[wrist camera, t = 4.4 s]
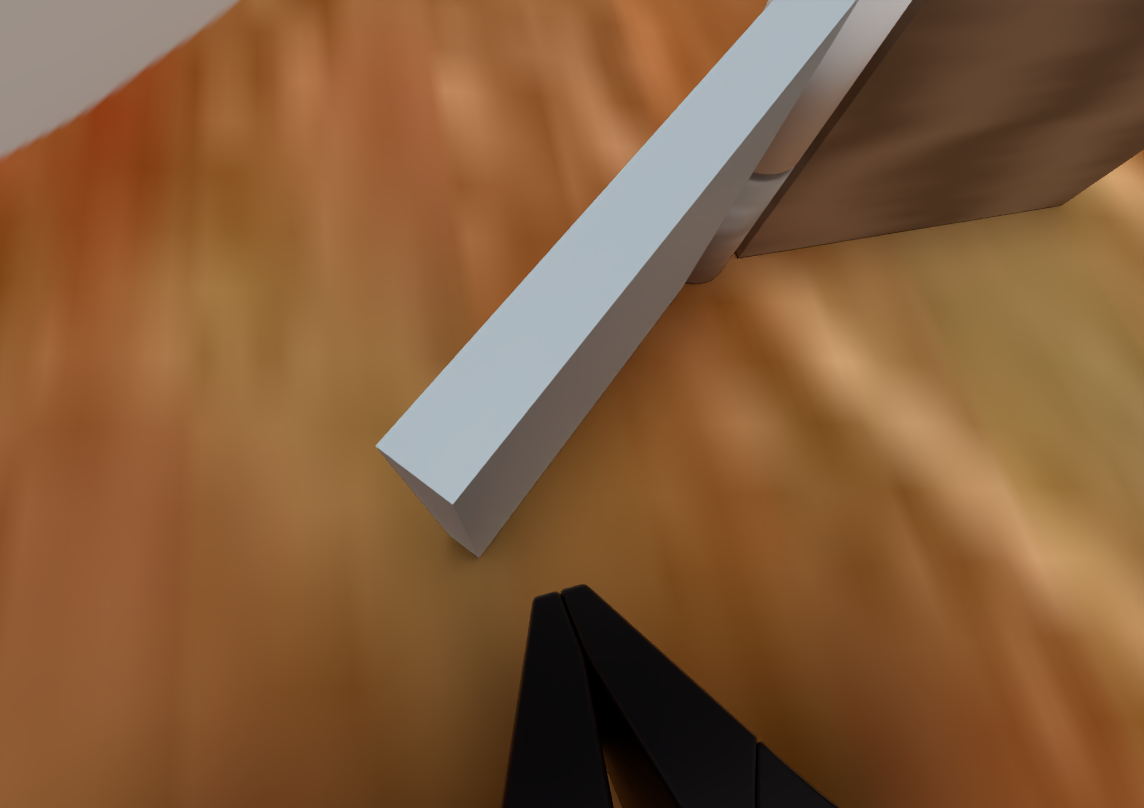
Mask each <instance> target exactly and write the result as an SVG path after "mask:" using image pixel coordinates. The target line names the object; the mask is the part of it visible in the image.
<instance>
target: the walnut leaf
mask: <svg viewBox="0 0 1144 808" xmlns="http://www.w3.org/2000/svg"><path fill="white" fill-rule="evenodd" d="M1142 150H1144V0H912V1H911V3H910V4H909V5H908V7H907V8H906V10H905V11H904V12H903V14H902V15H901V17H900V18H899V20H898V21H897V22H896V24H895V25H894V27H893V28H892V30H891V31H890V32H889V34H888V35H887V37H886V38H885V39H884V41H883V42H882V44H881V45H880V47H879V48H878V49H877V51H876V52H875V54H874V55H873V56H872V58H871V59H870V61H869V62H868V64H867V65H866V66H865V68H864V69H863V71H862V72H861V73H860V75H859V76H858V78H857V79H856V81H855V82H854V83H853V85H852V86H851V88H850V89H849V91H848V92H847V93H846V95H845V96H844V98H843V99H842V100H841V102H840V103H839V105H838V106H837V108H836V109H835V110H834V112H833V113H832V115H831V116H830V117H829V119H828V120H827V122H826V123H825V125H824V126H823V127H822V129H821V130H820V132H819V133H818V135H817V136H816V137H815V139H814V140H813V142H812V143H811V144H810V146H809V147H808V149H807V150H806V152H805V153H804V154H803V156H802V157H801V159H800V160H799V161H798V163H797V164H796V165H795V166H794V167H792V168H791V169H789V170H787V171H785V172H782V173H778V174H758V173H754V172H753V173H752V175H751V176H750V178H749V180H748V181H747V183H746V185H745V186H744V188H743V189H742V191H741V193H740V194H739V196H738V198H737V199H736V201H735V202H734V204H733V206H732V207H731V209H730V211H729V212H728V214H727V215H726V217H725V219H724V220H723V222H722V224H721V225H720V227H719V228H718V230H717V232H716V233H715V235H714V237H713V238H712V240H711V242H710V243H709V245H708V246H707V248H706V250H705V251H704V253H703V255H702V256H701V258H700V259H699V261H698V263H697V264H696V266H695V268H694V269H693V271H692V272H691V274H690V276H689V277H688V279H687V281H686V282H687V283H693V284H699V283H705V282H708V281H710V280H712V279H714V278H715V277H716V276H718V274H719V273H720V272H721V271H722V269H723V268H724V266H725V265H726V264H727V262H728V261H729V259H730V258H731V256H732V255H733V254H734V252H735V251H736V253H737V256H738V258H742V257H748V256H754V255H760V254H766V253H772V252H778V251H785V250H791V249H797V248H803V247H809V246H815V245H821V244H827V243H833V242H840V241H846V240H852V239H858V238H864V237H870V236H876V235H882V234H889V233H895V232H901V231H907V230H913V229H919V228H925V227H931V226H937V225H944V224H950V223H956V222H962V221H968V220H974V219H980V218H986V217H993V216H999V215H1005V214H1011V213H1017V212H1023V211H1029V210H1035V209H1041V208H1048V207H1054V206H1060V205H1063V204H1064V203H1066V202H1067V201H1069V200H1070V199H1072V198H1073V197H1075V196H1076V195H1078V194H1079V193H1081V192H1082V191H1083V190H1085V189H1086V188H1088V187H1089V186H1091V185H1092V184H1094V183H1095V182H1097V181H1098V180H1100V179H1101V178H1102V177H1104V176H1105V175H1107V174H1108V173H1110V172H1111V171H1113V170H1114V169H1116V168H1117V167H1119V166H1120V165H1122V164H1123V163H1124V162H1126V161H1127V160H1129V159H1130V158H1132V157H1133V156H1135V155H1136V154H1138V153H1139V152H1141V151H1142Z"/></svg>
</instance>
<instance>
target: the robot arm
mask: <svg viewBox="0 0 1144 808" xmlns="http://www.w3.org/2000/svg"><path fill="white" fill-rule="evenodd" d="M606 769H607V771H608V774H609V776H610V779H611V781H612V784H613V786H614V789H615V791H616V794H617V796H618V799H619V801H620V804H621V806H622V808H840V807H839V806H837V805H836V804H835V803H834V802H832V801H831V800H830V799H828V798H827V797H826V796H824V795H823V794H822V793H821V792H820V791H818V790H817V789H816V788H815V787H814V786H813V785H811V784H810V783H809V782H808V781H807V780H805V779H804V778H803V777H802V776H801V775H800V774H798V773H797V772H796V771H795V770H794V769H793V768H791V767H790V766H789V765H788V764H787V763H786V762H784V761H783V760H782V759H781V758H780V757H779V756H778V755H777V754H776V753H774V752H773V751H772V750H771V749H770V748H769V747H768V746H767V745H766V744H764V743H763V742H761V741H760V742H758V744H757V737H756V736H755V735H754V734H753V733H752V732H751V731H750V730H748V729H747V728H746V727H745V726H744V725H743V724H742V723H741V722H739V721H738V720H737V719H736V718H735V717H734V716H733V715H732V714H731V713H729V712H728V711H727V710H726V709H725V708H724V707H723V706H722V705H720V704H719V703H718V702H717V701H716V700H715V699H714V698H713V697H712V696H710V695H709V694H708V693H707V692H706V691H705V690H704V689H703V688H701V687H700V686H699V685H698V684H697V683H696V682H695V681H694V680H693V679H691V678H690V677H689V676H688V675H687V674H686V673H685V672H684V671H682V670H681V669H680V668H679V667H678V666H677V665H676V664H675V663H674V662H672V661H671V660H670V659H669V658H668V657H667V656H666V655H665V654H664V653H662V652H661V651H660V650H659V649H658V648H657V647H656V646H655V645H653V644H652V643H651V642H650V641H649V640H648V639H647V638H646V637H645V636H643V635H642V634H641V633H640V632H639V631H638V630H637V629H636V628H634V627H633V626H632V625H631V624H630V623H629V622H628V621H627V620H626V619H624V618H623V617H622V616H621V615H620V614H619V613H618V612H617V611H615V610H614V609H613V608H612V607H611V606H610V605H609V604H608V603H607V602H605V601H604V600H603V599H602V598H601V597H600V596H599V595H598V594H596V593H595V592H594V591H593V590H592V589H591V588H590V587H588V586H587V585H584V584H581V585H577V586H574V587H570V588H566V589H563V590H562V591H561V593H560V594H559V593H558V592H552V593H548V594H544V595H541V596H537V597H535V598H534V600H533V603H532V609H531V615H530V622H529V628H528V635H527V641H526V648H525V654H524V661H523V667H522V674H521V680H520V687H519V693H518V700H517V706H516V713H515V720H514V726H513V733H512V739H511V746H510V752H509V759H508V765H507V772H506V778H505V785H504V791H503V798H502V804H501V808H614V807H613V802H612V797H611V792H610V786H609V781H608V776H607V771H606Z"/></svg>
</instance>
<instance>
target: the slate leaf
mask: <svg viewBox="0 0 1144 808" xmlns="http://www.w3.org/2000/svg"><path fill="white" fill-rule="evenodd" d="M911 1H912V0H768V2H767V4H766V6H765V8H764V11H763V12H762V14H761V15H760V16H759V17H758V18H757V19H756V20H755V21H754V22H753V24H752V25H751V26H750V27H749V28H748V29H747V30H746V31H745V33H744V34H743V35H742V36H741V37H740V38H739V39H738V40H737V42H736V43H735V44H734V45H733V46H732V47H731V48H730V49H729V50H728V52H727V53H726V54H725V55H724V56H723V57H722V58H721V59H720V61H719V62H718V63H717V64H716V65H715V66H714V67H713V68H712V70H711V71H710V72H709V73H708V74H707V75H706V76H705V77H704V78H703V80H702V81H701V82H700V83H699V84H698V85H697V86H696V87H695V89H694V90H693V91H692V92H691V93H690V94H689V95H688V96H687V98H686V99H685V100H684V101H683V102H682V103H681V104H680V105H679V107H678V108H677V109H676V110H675V111H674V112H673V113H672V114H671V115H670V117H669V118H668V119H667V120H666V121H665V122H664V123H663V124H662V126H661V127H660V128H659V129H658V130H657V131H656V132H655V133H654V135H653V136H652V137H651V138H650V139H649V140H648V141H647V142H646V143H645V145H644V146H643V147H642V148H641V149H640V150H639V151H638V152H637V154H636V155H635V156H634V157H633V158H632V159H631V160H630V161H629V163H628V164H627V165H626V166H625V167H624V168H623V169H622V170H621V171H620V173H619V174H618V175H617V176H616V177H615V178H614V179H613V180H612V182H611V183H610V184H609V185H608V186H607V187H606V188H605V189H604V191H603V192H602V193H601V194H600V195H599V196H598V197H597V198H596V200H595V201H594V202H593V203H592V204H591V205H590V206H589V207H588V208H587V210H586V211H585V212H584V213H583V214H582V215H581V216H580V217H579V219H578V220H577V221H576V222H575V223H574V224H573V225H572V226H571V228H570V229H569V230H568V231H567V232H566V233H565V234H564V235H563V236H562V238H561V239H560V240H559V241H558V242H557V243H556V244H555V245H554V247H553V248H552V249H551V250H550V251H549V252H548V253H547V254H546V256H545V257H544V258H543V259H542V260H541V261H540V262H539V263H538V265H537V266H536V267H535V268H534V269H533V270H532V271H531V272H530V273H529V275H528V276H527V277H526V278H525V279H524V280H523V281H522V282H521V284H520V285H519V286H518V287H517V288H516V289H515V290H514V291H513V293H512V294H511V295H510V296H509V297H508V298H507V299H506V300H505V301H504V303H503V304H502V305H501V306H500V307H499V308H498V309H497V310H496V312H495V313H494V314H493V315H492V316H491V317H490V318H489V319H488V321H487V322H486V323H485V324H484V325H483V326H482V327H481V328H480V329H479V331H478V332H477V333H476V334H475V335H474V336H473V337H472V338H471V340H470V341H469V342H468V343H467V344H466V345H465V346H464V347H463V349H462V350H461V351H460V352H459V353H458V354H457V355H456V356H455V358H454V359H453V360H452V361H451V362H450V363H449V364H448V365H447V366H446V368H445V369H444V370H443V371H442V372H441V373H440V374H439V375H438V377H437V378H436V379H435V380H434V381H433V382H432V383H431V384H430V386H429V387H428V388H427V389H426V390H425V391H424V392H423V393H422V394H421V396H420V397H419V398H418V399H417V400H416V401H415V402H414V403H413V405H412V406H411V407H410V408H409V409H408V410H407V411H406V412H405V414H404V415H403V416H402V417H401V418H400V419H399V420H398V421H397V423H396V424H395V425H394V426H393V427H392V428H391V429H390V430H389V431H388V433H387V434H386V435H385V436H384V437H383V438H382V439H381V440H380V442H379V443H378V444H377V445H376V447H377V449H378V450H379V451H380V452H381V453H382V455H383V456H384V457H385V458H386V460H387V461H388V462H389V463H390V464H391V466H392V467H393V468H394V469H395V470H396V472H397V473H398V474H399V475H400V476H401V478H402V479H403V480H404V481H405V483H406V484H407V485H408V486H409V487H410V489H411V490H412V491H413V492H414V493H415V495H416V496H417V497H418V498H419V500H420V501H421V502H422V503H423V504H424V506H425V507H426V508H427V509H428V510H429V512H430V513H431V514H432V515H433V517H434V518H435V519H436V520H437V521H438V523H439V524H440V525H441V526H442V527H443V529H444V530H445V531H446V532H447V534H448V535H449V536H451V537H452V538H453V539H454V540H456V541H457V542H458V543H460V544H461V545H462V546H464V547H465V548H466V549H468V550H469V551H470V552H471V553H473V554H474V555H475V556H477V557H478V558H480V556H481V555H482V554H483V552H484V551H485V550H486V548H487V547H488V546H489V544H490V543H491V542H492V540H493V539H494V538H495V536H496V535H497V534H498V532H499V531H500V530H501V528H502V527H503V526H504V524H505V523H506V522H507V520H508V519H509V518H510V516H511V515H512V514H513V512H514V511H515V510H516V508H517V507H518V506H519V504H520V503H521V502H522V500H523V499H524V498H525V496H526V495H527V494H528V492H529V491H530V490H531V488H532V487H533V486H534V484H535V483H536V482H537V480H538V479H539V478H540V476H541V475H542V474H543V472H544V471H545V470H546V468H547V467H548V466H549V464H550V463H551V462H552V460H553V459H554V458H555V456H556V455H557V454H558V452H559V451H560V450H561V448H562V447H563V446H564V444H565V443H566V442H567V440H568V439H569V438H570V436H571V435H572V434H573V432H574V431H575V430H576V428H577V427H578V426H579V424H580V423H581V422H582V420H583V419H584V418H585V416H586V415H587V414H588V412H589V411H590V410H591V408H592V407H593V406H594V404H595V403H596V402H597V400H598V399H599V398H600V396H601V395H602V394H603V392H604V391H605V390H606V389H607V387H608V386H609V385H610V383H611V382H612V381H613V379H614V378H615V377H616V375H617V374H618V373H619V371H620V370H621V369H622V367H623V366H624V365H625V363H626V362H627V361H628V359H629V358H630V357H631V355H632V354H633V353H634V351H635V350H636V349H637V347H638V346H639V345H640V343H641V342H642V341H643V339H644V338H645V337H646V335H647V334H648V333H649V331H650V330H651V329H652V327H653V326H654V325H655V323H656V322H657V321H658V319H659V318H660V317H661V315H662V314H663V313H664V311H665V310H666V309H667V307H668V306H669V305H670V303H671V302H672V301H673V299H674V298H675V297H676V295H677V294H678V293H679V291H680V290H681V289H682V287H683V285H684V284H685V282H686V281H687V279H688V277H689V276H690V274H691V272H692V271H693V269H694V268H695V266H696V264H697V263H698V261H699V259H700V258H701V256H702V255H703V253H704V251H705V250H706V248H707V246H708V245H709V243H710V242H711V240H712V238H713V237H714V235H715V233H716V232H717V230H718V228H719V227H720V225H721V224H722V222H723V220H724V219H725V217H726V215H727V214H728V212H729V211H730V209H731V207H732V206H733V204H734V202H735V201H736V199H737V198H738V196H739V194H740V193H741V191H742V189H743V188H744V186H745V185H746V183H747V181H748V180H749V178H750V176H751V175H752V173H753V172H754V173H758V174H778V173H782V172H785V171H787V170H789V169H791V168H792V167H794V166H795V165H796V164H797V163H798V161H799V160H800V159H801V157H802V156H803V154H804V153H805V152H806V150H807V149H808V147H809V146H810V144H811V143H812V142H813V140H814V139H815V137H816V136H817V135H818V133H819V132H820V130H821V129H822V127H823V126H824V125H825V123H826V122H827V120H828V119H829V117H830V116H831V115H832V113H833V112H834V110H835V109H836V108H837V106H838V105H839V103H840V102H841V100H842V99H843V98H844V96H845V95H846V93H847V92H848V91H849V89H850V88H851V86H852V85H853V83H854V82H855V81H856V79H857V78H858V76H859V75H860V73H861V72H862V71H863V69H864V68H865V66H866V65H867V64H868V62H869V61H870V59H871V58H872V56H873V55H874V54H875V52H876V51H877V49H878V48H879V47H880V45H881V44H882V42H883V41H884V39H885V38H886V37H887V35H888V34H889V32H890V31H891V30H892V28H893V27H894V25H895V24H896V22H897V21H898V20H899V18H900V17H901V15H902V14H903V12H904V11H905V10H906V8H907V7H908V5H909V4H910V3H911Z"/></svg>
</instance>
